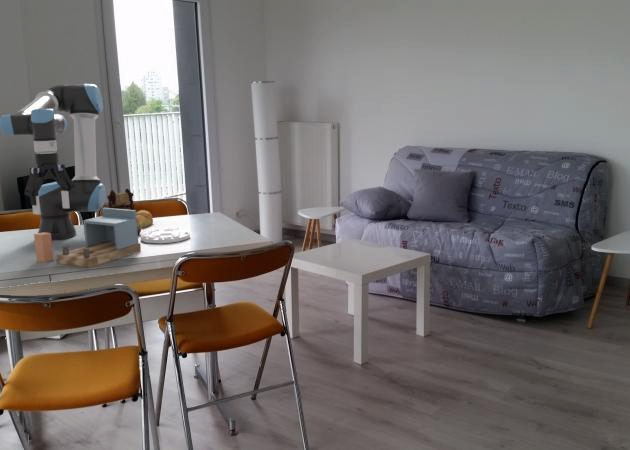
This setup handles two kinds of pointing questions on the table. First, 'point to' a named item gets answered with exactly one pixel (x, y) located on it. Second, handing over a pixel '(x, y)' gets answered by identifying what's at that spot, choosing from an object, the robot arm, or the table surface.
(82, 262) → the housing base
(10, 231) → the table surface
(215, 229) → the table surface
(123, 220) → the housing cover
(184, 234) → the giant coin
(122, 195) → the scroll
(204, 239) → the table surface
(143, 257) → the table surface
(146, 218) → the bread loaf
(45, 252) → the peg
